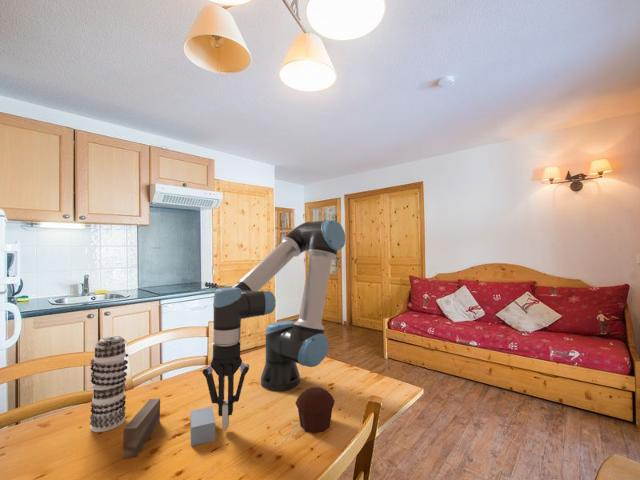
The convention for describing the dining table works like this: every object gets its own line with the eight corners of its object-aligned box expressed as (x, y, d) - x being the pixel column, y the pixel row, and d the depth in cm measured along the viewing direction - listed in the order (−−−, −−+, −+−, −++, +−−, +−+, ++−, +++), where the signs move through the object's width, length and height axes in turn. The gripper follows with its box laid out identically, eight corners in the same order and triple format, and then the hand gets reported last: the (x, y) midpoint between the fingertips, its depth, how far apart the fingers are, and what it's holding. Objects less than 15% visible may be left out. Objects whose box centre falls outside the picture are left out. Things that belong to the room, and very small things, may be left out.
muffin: (321, 410, 95) (321, 378, 96) (342, 427, 86) (342, 392, 86) (288, 421, 89) (288, 387, 89) (307, 441, 79) (307, 403, 80)
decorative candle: (93, 418, 90) (96, 336, 91) (129, 412, 94) (131, 332, 95) (83, 436, 82) (86, 344, 83) (123, 428, 85) (125, 340, 86)
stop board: (159, 422, 88) (160, 398, 89) (135, 456, 74) (136, 428, 74) (149, 423, 88) (149, 399, 88) (122, 457, 73) (123, 428, 73)
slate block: (212, 423, 88) (212, 406, 88) (214, 441, 80) (215, 422, 80) (190, 428, 86) (190, 410, 86) (190, 447, 78) (191, 427, 78)
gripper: (251, 337, 89) (250, 417, 88) (206, 339, 87) (204, 420, 86) (248, 345, 82) (247, 432, 81) (199, 347, 80) (197, 436, 79)
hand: (225, 426), depth 84 cm, fingers closed
